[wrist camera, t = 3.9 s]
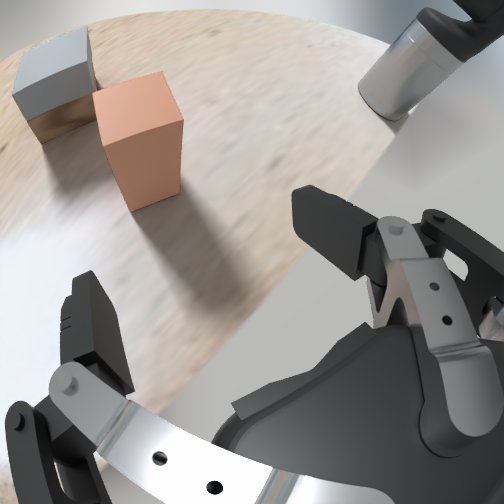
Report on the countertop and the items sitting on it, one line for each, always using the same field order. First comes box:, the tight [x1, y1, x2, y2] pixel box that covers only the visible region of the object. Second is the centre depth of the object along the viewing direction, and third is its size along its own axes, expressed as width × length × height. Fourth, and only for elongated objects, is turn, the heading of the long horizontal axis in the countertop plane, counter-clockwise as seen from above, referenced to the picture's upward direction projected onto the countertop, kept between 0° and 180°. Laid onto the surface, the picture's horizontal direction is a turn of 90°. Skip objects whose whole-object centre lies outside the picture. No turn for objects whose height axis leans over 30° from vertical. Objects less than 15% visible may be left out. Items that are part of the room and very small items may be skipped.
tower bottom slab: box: [27, 63, 97, 144], centre depth 22 cm, size 8×8×4 cm
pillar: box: [92, 72, 184, 212], centre depth 19 cm, size 5×5×11 cm
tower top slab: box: [12, 26, 94, 121], centre depth 17 cm, size 8×8×4 cm
